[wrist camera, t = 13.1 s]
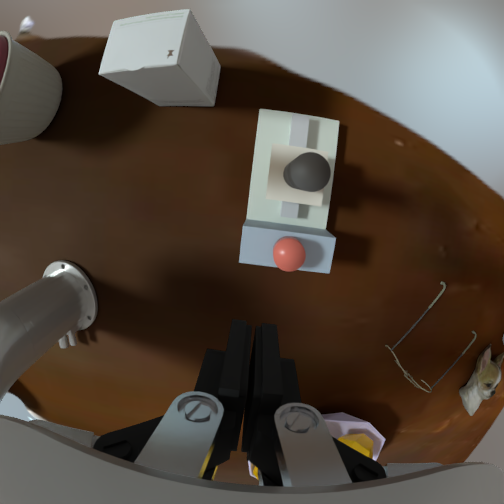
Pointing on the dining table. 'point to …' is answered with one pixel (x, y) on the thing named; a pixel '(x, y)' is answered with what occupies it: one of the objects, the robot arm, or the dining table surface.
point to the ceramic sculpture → (482, 381)
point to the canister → (25, 92)
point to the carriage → (297, 174)
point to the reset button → (288, 253)
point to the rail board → (262, 162)
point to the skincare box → (162, 59)
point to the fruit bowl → (349, 435)
